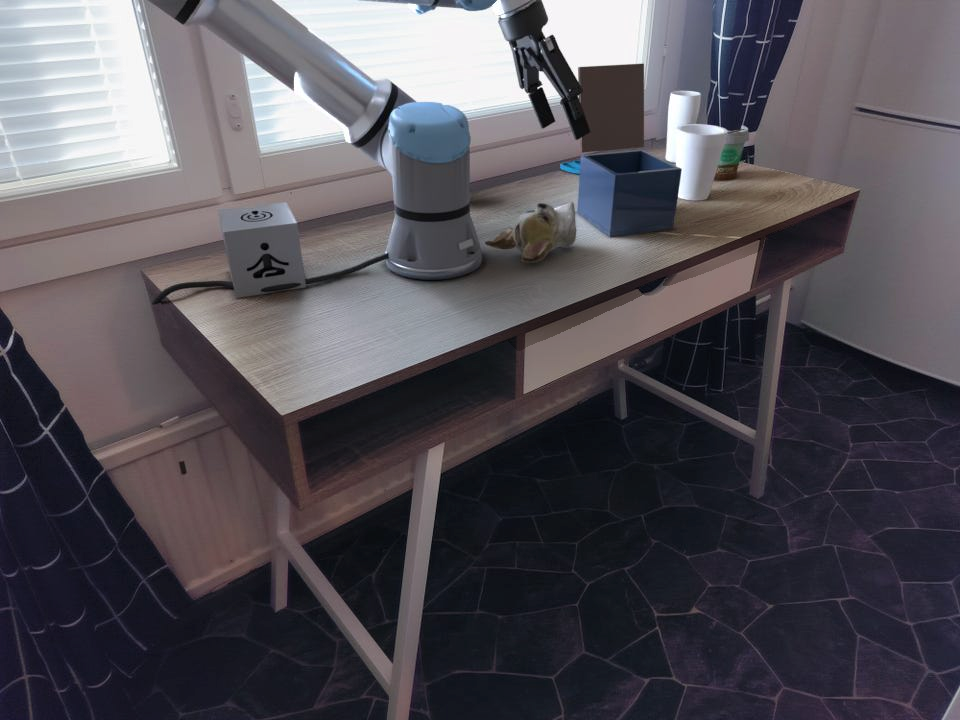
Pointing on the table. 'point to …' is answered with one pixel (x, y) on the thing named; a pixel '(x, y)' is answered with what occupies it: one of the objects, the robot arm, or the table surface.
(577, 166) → the scissors
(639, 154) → the box
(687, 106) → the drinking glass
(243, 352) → the table surface
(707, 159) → the foam cup
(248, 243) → the icon cube
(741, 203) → the table surface
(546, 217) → the ceramic sculpture
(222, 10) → the robot arm
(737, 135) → the food container
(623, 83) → the caddy lid
